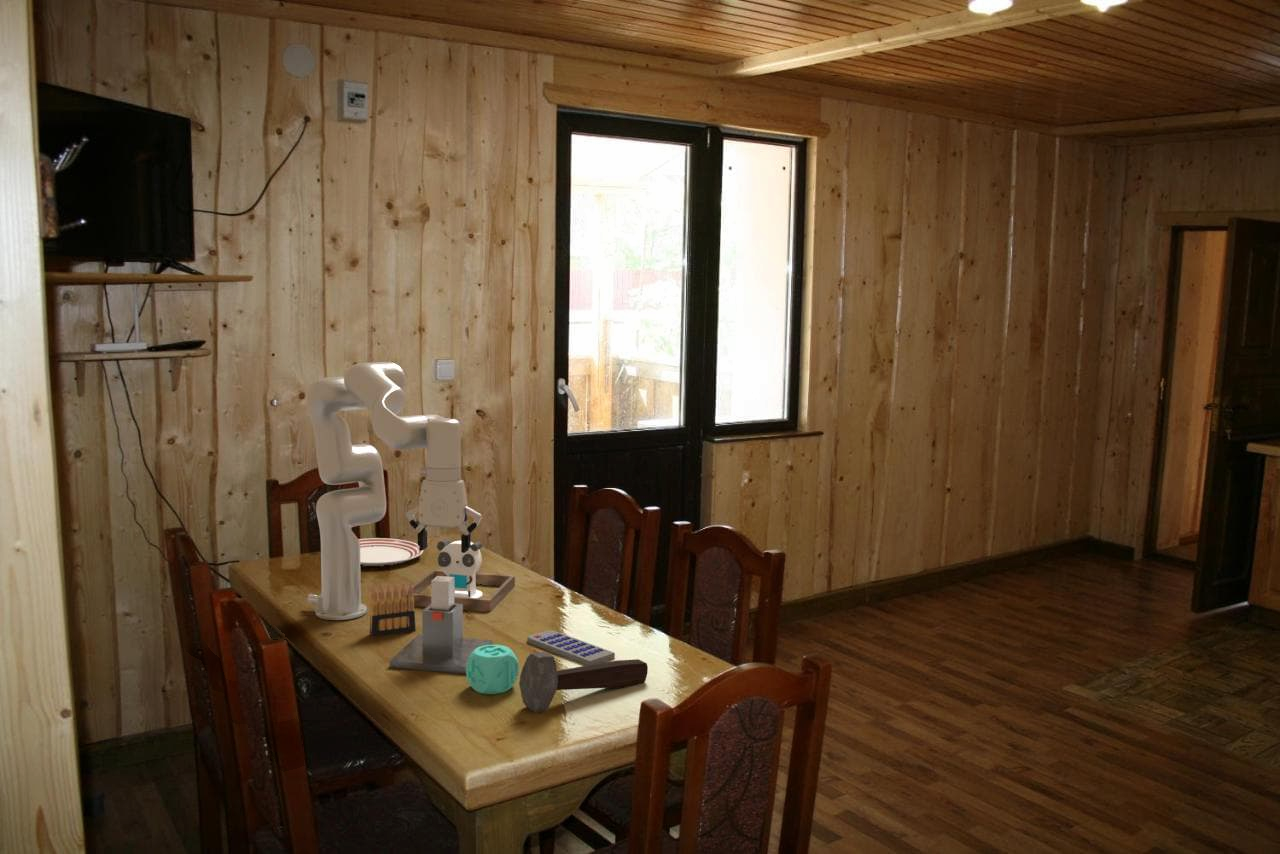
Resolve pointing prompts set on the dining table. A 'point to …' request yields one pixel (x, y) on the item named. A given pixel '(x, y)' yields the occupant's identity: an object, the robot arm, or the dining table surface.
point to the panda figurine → (461, 566)
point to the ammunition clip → (392, 612)
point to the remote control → (570, 647)
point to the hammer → (573, 678)
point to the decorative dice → (492, 669)
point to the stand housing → (439, 644)
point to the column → (442, 593)
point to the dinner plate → (386, 551)
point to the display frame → (468, 603)
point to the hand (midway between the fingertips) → (444, 550)
